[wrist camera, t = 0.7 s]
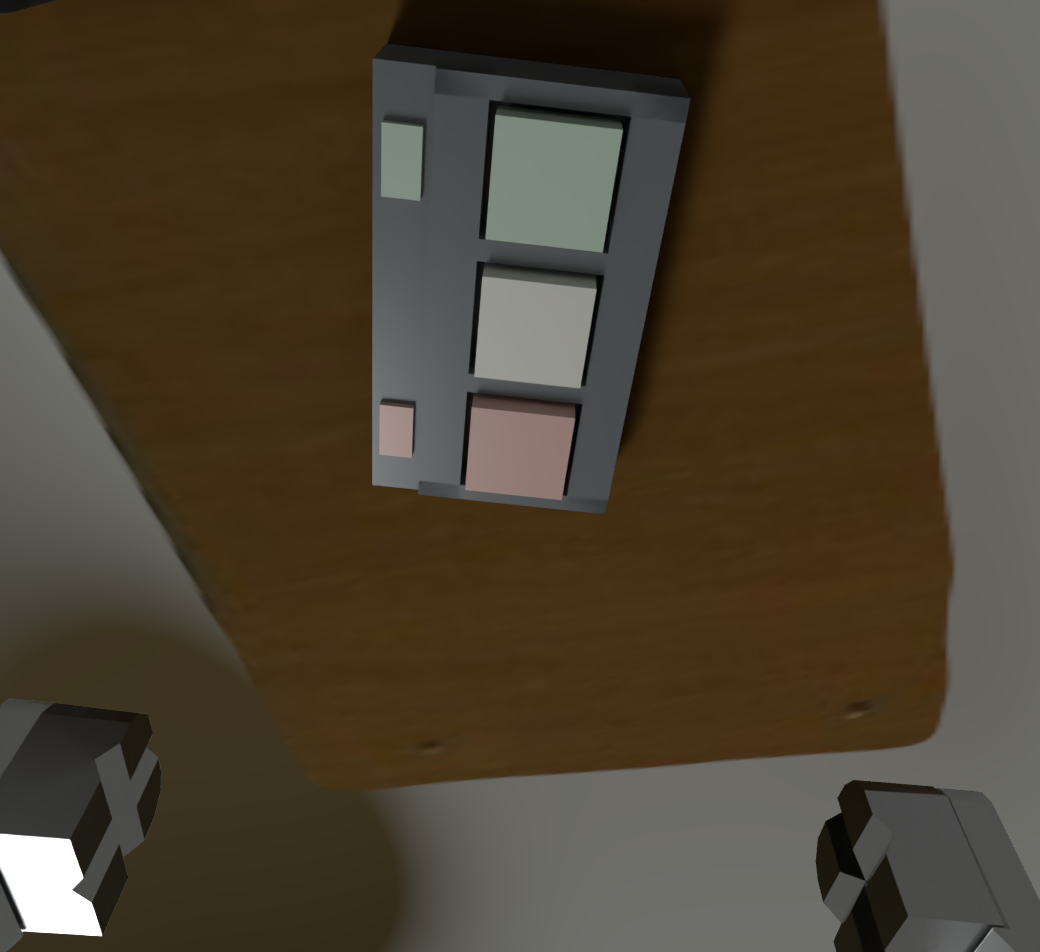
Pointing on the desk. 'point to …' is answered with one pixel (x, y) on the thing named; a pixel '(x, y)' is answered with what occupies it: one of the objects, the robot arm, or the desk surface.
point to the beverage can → (19, 4)
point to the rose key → (519, 446)
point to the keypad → (500, 258)
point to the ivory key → (534, 324)
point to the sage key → (552, 178)
